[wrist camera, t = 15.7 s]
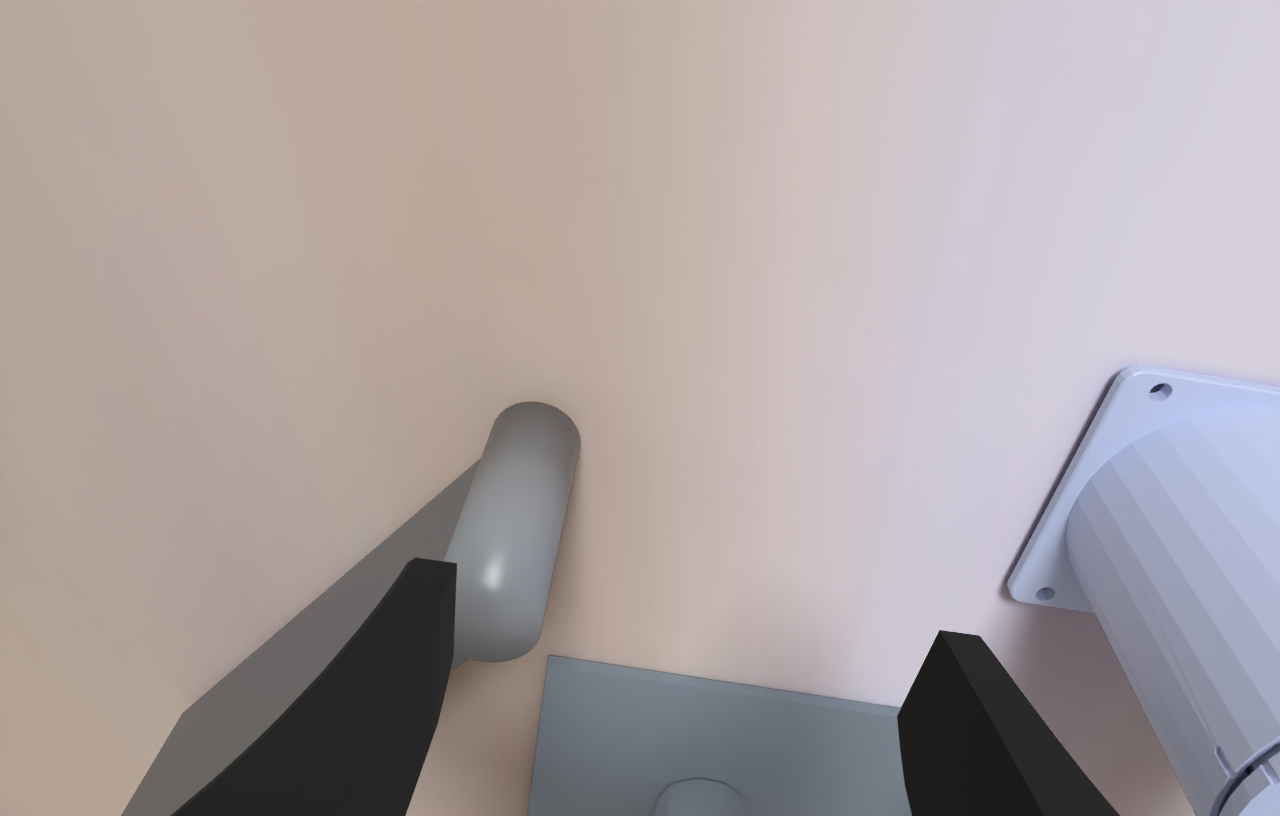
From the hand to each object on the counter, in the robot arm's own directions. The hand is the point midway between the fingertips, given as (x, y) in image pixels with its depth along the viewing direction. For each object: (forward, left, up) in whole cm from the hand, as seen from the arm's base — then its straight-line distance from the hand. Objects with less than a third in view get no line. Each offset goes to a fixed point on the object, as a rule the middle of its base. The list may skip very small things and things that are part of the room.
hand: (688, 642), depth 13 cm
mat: (-4, +20, -10) cm, 23 cm away
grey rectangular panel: (+9, +11, -10) cm, 17 cm away
